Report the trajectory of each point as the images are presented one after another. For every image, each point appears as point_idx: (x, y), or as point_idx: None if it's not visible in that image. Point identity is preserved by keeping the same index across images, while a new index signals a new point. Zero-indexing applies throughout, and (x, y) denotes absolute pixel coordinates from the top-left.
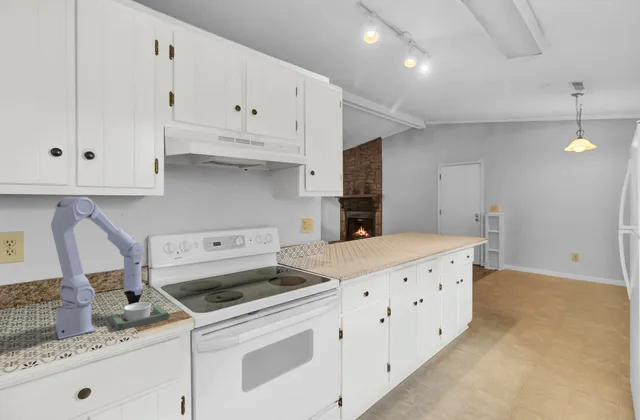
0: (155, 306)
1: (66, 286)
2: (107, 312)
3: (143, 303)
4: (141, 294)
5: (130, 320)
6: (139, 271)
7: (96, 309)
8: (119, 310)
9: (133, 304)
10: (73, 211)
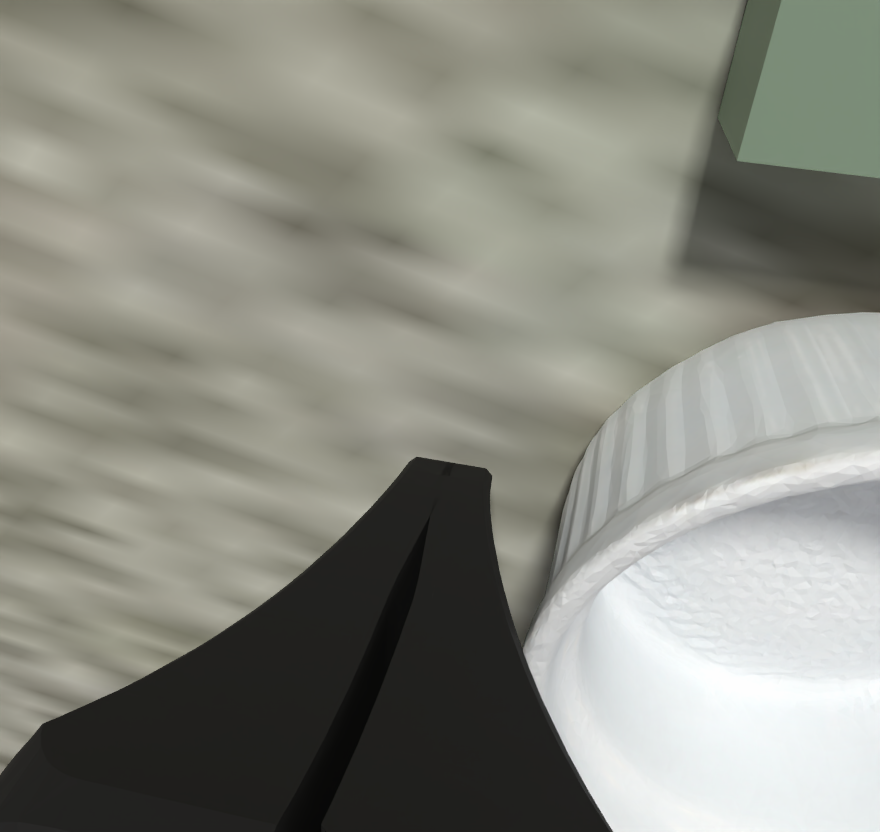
0: (832, 100)
1: None
2: (116, 649)
3: (685, 519)
4: (604, 821)
5: None
6: None
7: None
8: (107, 529)
9: (547, 686)
10: None
